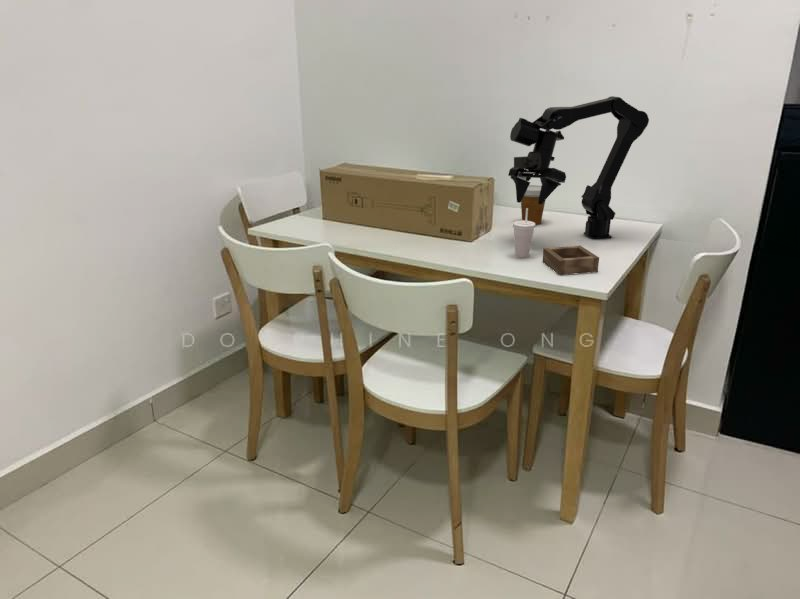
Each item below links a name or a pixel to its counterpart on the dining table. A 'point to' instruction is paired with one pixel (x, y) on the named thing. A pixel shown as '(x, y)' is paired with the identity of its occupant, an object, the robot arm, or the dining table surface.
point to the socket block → (570, 260)
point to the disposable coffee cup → (532, 204)
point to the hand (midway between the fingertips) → (528, 203)
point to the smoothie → (523, 236)
